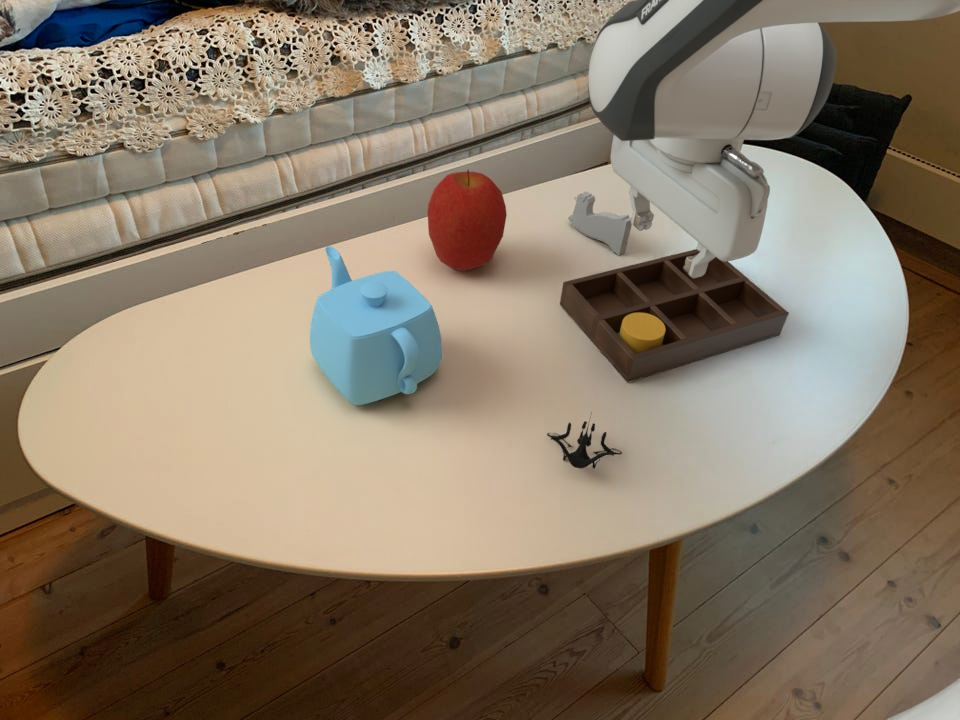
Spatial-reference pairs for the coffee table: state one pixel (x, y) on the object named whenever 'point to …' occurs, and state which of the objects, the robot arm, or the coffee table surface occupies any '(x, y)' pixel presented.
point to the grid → (672, 312)
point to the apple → (466, 219)
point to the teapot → (373, 334)
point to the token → (642, 332)
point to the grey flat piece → (601, 224)
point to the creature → (582, 448)
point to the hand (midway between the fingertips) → (665, 249)
